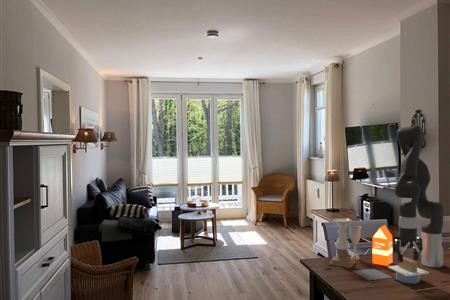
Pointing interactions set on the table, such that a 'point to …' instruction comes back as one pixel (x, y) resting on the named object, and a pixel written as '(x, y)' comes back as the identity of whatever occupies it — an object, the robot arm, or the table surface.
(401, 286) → the table surface
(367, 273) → the mat
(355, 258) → the chalice
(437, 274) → the table surface
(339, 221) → the candle holder
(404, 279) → the bowl
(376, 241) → the orange juice
